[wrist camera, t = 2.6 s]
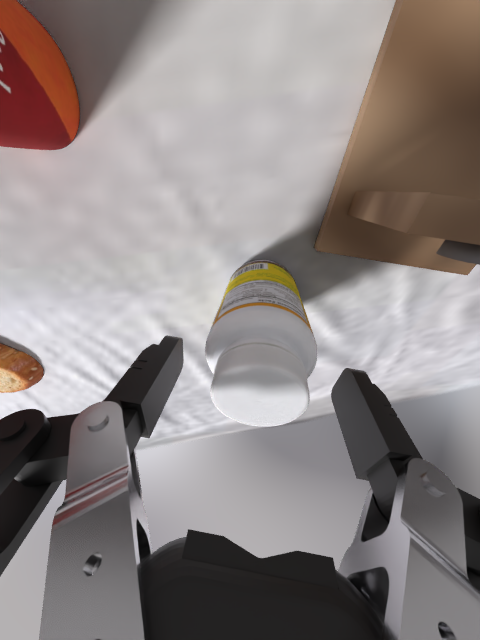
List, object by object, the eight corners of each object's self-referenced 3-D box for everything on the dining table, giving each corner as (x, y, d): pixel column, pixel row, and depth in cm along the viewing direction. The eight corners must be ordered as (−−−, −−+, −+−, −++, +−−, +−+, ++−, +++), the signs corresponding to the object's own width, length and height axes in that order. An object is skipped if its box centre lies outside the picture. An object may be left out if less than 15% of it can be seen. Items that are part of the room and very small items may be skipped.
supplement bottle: (270, 328, 18) (275, 449, 10) (217, 300, 17) (170, 407, 9) (311, 280, 15) (368, 393, 7) (250, 242, 14) (228, 320, 6)
